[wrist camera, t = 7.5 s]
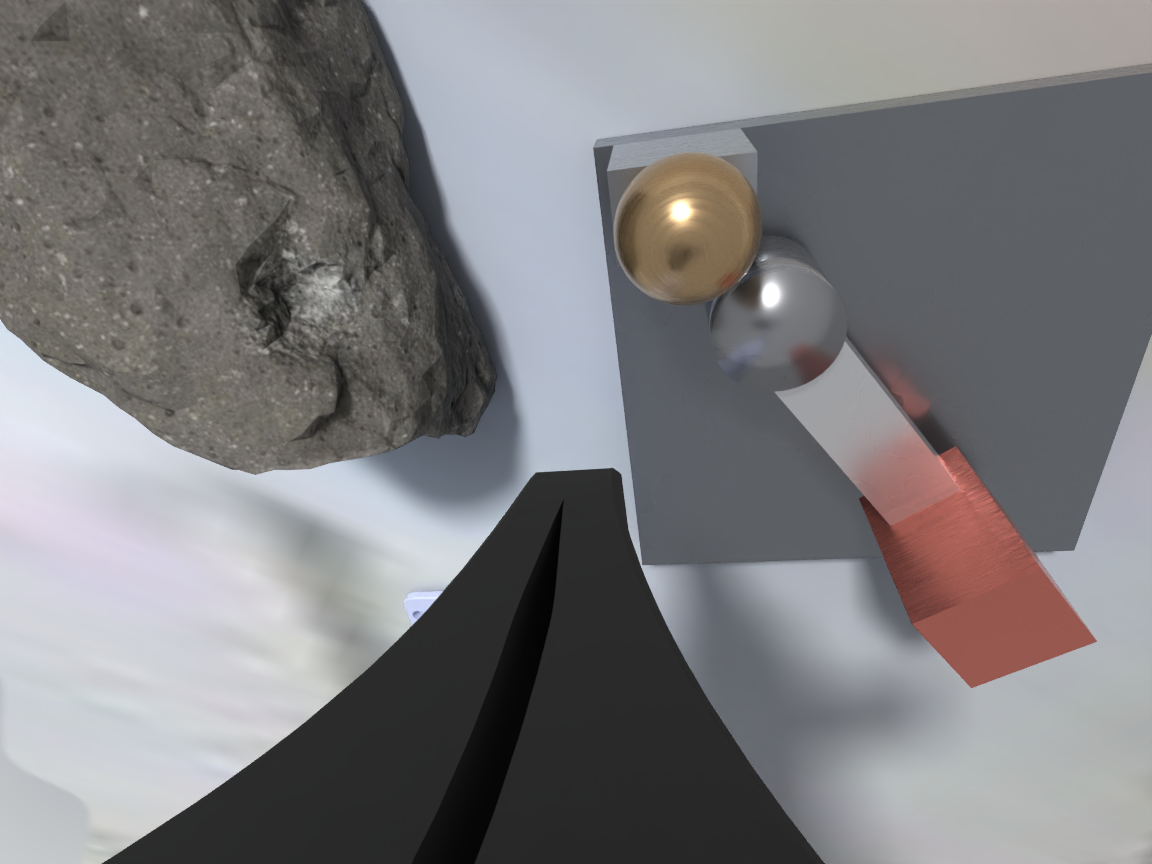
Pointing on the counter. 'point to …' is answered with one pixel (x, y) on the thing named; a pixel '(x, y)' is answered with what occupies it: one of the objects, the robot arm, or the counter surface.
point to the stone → (228, 229)
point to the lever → (895, 473)
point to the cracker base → (887, 301)
